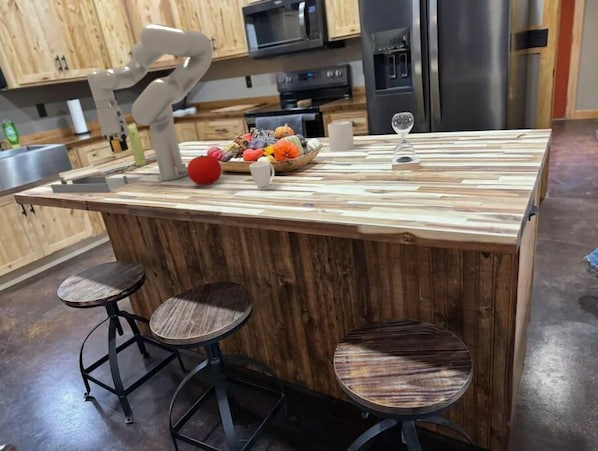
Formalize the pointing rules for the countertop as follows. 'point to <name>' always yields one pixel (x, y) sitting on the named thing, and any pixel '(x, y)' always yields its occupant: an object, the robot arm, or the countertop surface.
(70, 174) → the cover
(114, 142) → the orange cube
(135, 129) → the tube
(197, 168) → the tomato
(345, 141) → the mug
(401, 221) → the countertop surface
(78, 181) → the grey tray
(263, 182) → the cup
